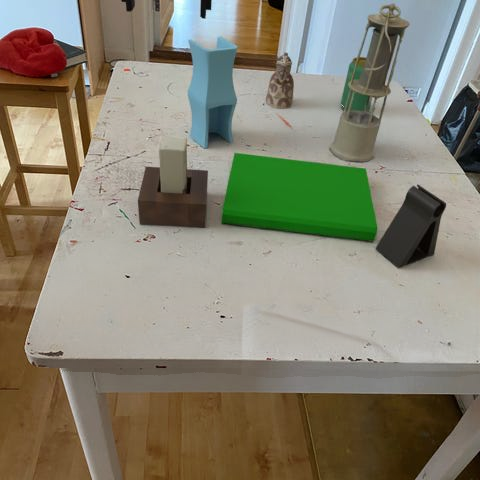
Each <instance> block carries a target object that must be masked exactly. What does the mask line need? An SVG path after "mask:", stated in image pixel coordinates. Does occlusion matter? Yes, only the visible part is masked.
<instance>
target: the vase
mask: <svg viewBox="0 0 480 480" xmlns="http://www.w3.org/2000/svg"><path fill="white" fill-rule="evenodd" d="M187 40H188V45H189V50H190V53H191V60H192V75H191V80H190V84H189V86H188V89H187V97H188V101H189V107H190V112H191V126H190V133H189V137H190V138H191V139H192V140H194V141H195V142H196V143H197V144H198V145H199V146H200V147H202V149H204V150H205V149H206V150H207V149H208V145H209V144H208V143H209V133H214V134H218V135H219V136H221V137H222V139H224V140H225V141H227V142H228V143H229V144H234V143H235V142H234V138H233V137H234V136H233V128H232V127H233V126H232V125H233V119H234V118H233V117H234V114H235V109H236V107H237V103H238V98H237V93H236V89H235V86H234V78H233V77H234V76H233V72H234V63H235V59H236V55H237V51H238V46H237V45H236V44H235V43H233V42H232V41H229V40H228V39H226V38H225V37H223V36H217V38H216V48H207V47H205V46H203V45H201V44H200V43H198V42H196V41H195V40H193V39H187Z"/></svg>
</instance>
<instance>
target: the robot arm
mask: <svg viewBox="0 0 480 480" xmlns="http://www.w3.org/2000/svg"><path fill="white" fill-rule="evenodd" d="M121 3H125V9H126V10H125V11H126V12H128V13H131V12H133V10H134V9H135V6H136V0H121ZM212 5H213V4H212V0H200V8H199V18H201V19H203V20H204V19H205V20H206V17H207V11H212Z"/></svg>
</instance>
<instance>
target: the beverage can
mask: <svg viewBox="0 0 480 480" xmlns="http://www.w3.org/2000/svg"><path fill="white" fill-rule="evenodd" d="M366 57H367V56H365V57H364V56H360V58H359V61H358V65H357V68H356V72H355V76H354V79H353V80H359V79H360V76H361V73H362V70H363V67H364V64H365V61H366ZM356 59H357V56H356V57H353V58H352V61H350V63H349V65H348V68H347V75H346V78H345V82H344V85H343V91H342V95H341V99H340V106H341V110H343V111H344V109H345V106H346V102H347V98H348V95H349V91H350V88H349V86H348V83H349V82H350V81H351V78H352V76H353V71H354V68H355V63H356ZM352 94H353V91H352V92H351V96H350V100H349V104H348V107H347V111H348V109H349V105H350V102H351V99H352ZM367 98H368V95H361V94H359V93H354V96H353V102H352V106H351V110H355V111H364V110H365V106H366V102H367ZM372 101H373V97H371V96H370V99H369V103H368V106H367V109H366V111H369V109H370V108H371V104H372ZM341 104H342V105H343V106H344V107H343V106H342V105H341Z"/></svg>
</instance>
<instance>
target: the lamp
mask: <svg viewBox="0 0 480 480" xmlns="http://www.w3.org/2000/svg"><path fill="white" fill-rule="evenodd" d="M387 9H388V10H387ZM384 10H387V12H385V11H384ZM394 11H396V12H397V14H395V12H394ZM401 15H402V10H401V9H400V7H399V6H397V5H396V4H395V3H390V4H385V5H382V6H380V8H379V13H375V14H369V15H367V24H366V26H365V32H364V35H363V39H362V42H361V45H360V47H359V50H358V53H357V56H356V57H357V59H356V63H355V68H354V71H353V76H352V78H351V81H350V82H349V83H348V86H349V88H350V91H349V95H348V98H347V102H346V106H345V109H344V110H343V111H342V113H341V114H340V116H339V121H338V125H337V128H336V132H335V134H334V139H333V142H332V143H331V144H330V146H329V149H330V151H331V154H333V155H334V156H335V157H337V158H339V159H340V160H343V161H349V162H367V161H368V162H369V161H371V160H372V159H373V158H374V155H375V151H374V148H375V144H376V142H377V138H378V134H379V130H380V127H381V123H382V118H383V114H384V111H385V106H386V102H387V98H388V96H389V95H390V94H391V93H392V90H391V88H390V83H391V81H392V79H393V76H394V72H395V67H396V65H397V58H398V53H399V50H400V47H401V44H402V42H403V38H404V35H405V31H406V29H407V28H409V27H410V25H411V24H410V22H409V21H408V20H406V19H404V18H401ZM370 28H373V29H372V35H371V40H370V43H369V45H368V46H369V47H368V50H367V54H366V56H365V57H366V61H365V64H364V67H363V70H362V73H361V76H360V79H359V80H353V79H354V76H355V72H356V68H357V65H358V61H359V58H360V57H361V55H362V51H363V48H364V45H365V41H366V38H367V35H368V31H369V29H370ZM353 42H355V40H353ZM397 42H398V44H397ZM396 46H397V48H396ZM395 50H396V51H395ZM394 53H395V56H394ZM393 57H394V59H393ZM392 60H393V61H392ZM391 64H392V65H391ZM390 67H391V68H390ZM389 70H390V73H389ZM388 74H389V76H388ZM387 78H388V79H387ZM386 81H387V84H386ZM352 91H353V94H352V99H351V102H350V105H349V109H348V111H347V107H348V104H349V100H350V96H351V92H352ZM354 93H359V94H361V95H368V98H367V102H366V106H365V110H364V111H355V110H351V106H352V102H353V96H354ZM370 96H371V97H372V99H373V98H374V99H373V104H372V109H371V111H370V110H367V111H366V109H367V106H368V103H369V99H370ZM380 98H383V101H382V106H381V109H380V113H379V116H376V115H374V112H375V109H376V107H375V106H376V103H377V100H378V99H380Z"/></svg>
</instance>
